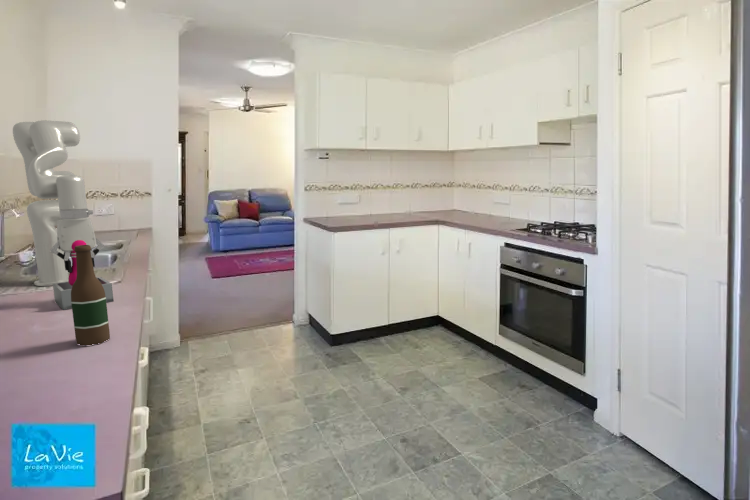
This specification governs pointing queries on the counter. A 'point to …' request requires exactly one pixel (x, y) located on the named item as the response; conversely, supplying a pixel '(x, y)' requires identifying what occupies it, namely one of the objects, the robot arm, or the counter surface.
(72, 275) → the pepper mill
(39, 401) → the counter surface
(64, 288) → the bin
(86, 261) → the beer bottle
